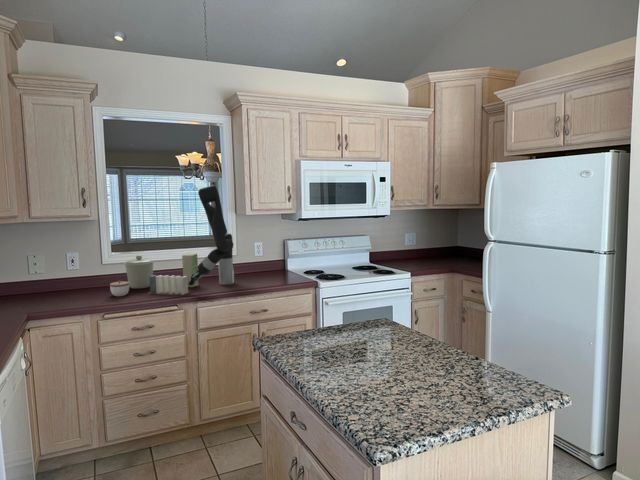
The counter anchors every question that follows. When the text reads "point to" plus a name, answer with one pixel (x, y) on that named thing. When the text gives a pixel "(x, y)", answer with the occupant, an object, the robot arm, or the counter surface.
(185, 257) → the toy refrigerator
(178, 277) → the domino
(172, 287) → the domino
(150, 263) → the canister
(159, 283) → the domino
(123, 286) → the lidded jar
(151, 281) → the domino
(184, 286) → the domino
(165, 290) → the domino
